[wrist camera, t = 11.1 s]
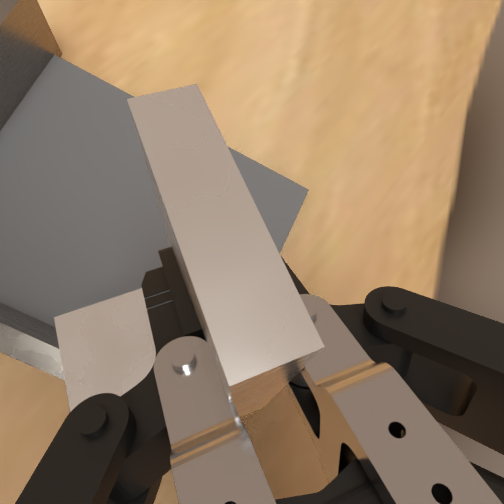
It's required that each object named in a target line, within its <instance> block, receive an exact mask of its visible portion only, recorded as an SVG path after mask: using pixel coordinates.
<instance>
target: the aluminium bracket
mask: <svg viewBox="0 0 504 504" xmlns="http://www.w3.org/2000/svg"><path fill="white" fill-rule="evenodd" d="M127 102H128V105H129V108H130V112H131V115H132V119H133V122H134V126H135V129H136V133H137V136H138V140H139V143H140V146H141V150H142V153H143V157H144V160H145V164H146V167H147V171H148V174H149V177H150V181H151V184H152V188H153V191H154V195H155V198H156V202H157V205H158V209H159V212H160V215H161V219H162V222H163V226H164V229H165V233H166V236H167V240H168V243H169V246H170V247H172V249H173V252H174V254H175V257H176V260H177V263H178V265H179V268H180V271H181V273H182V276H183V279H184V281H185V284H186V287H187V289H188V292H189V295H190V298H191V300H192V303H193V306H194V308H195V311H196V314H197V316H198V319H199V322H200V324H201V327H202V330H203V333H204V337H205V340H206V342H207V343H208V345H209V348H210V351H211V353H212V356H213V359H214V361H215V364H216V367H217V369H218V372H219V375H220V378H221V380H222V383H223V386H224V388H225V391H226V394H227V396H228V399H232V401H233V404H234V406H235V409H236V411H237V414H238V416H239V418H240V417H242V416H245V415H247V414H249V413H252V412H254V411H256V410H258V409H261V408H263V407H265V406H266V405H267V404H268V403H269V402H270V401H271V400H272V399H273V398H274V397H275V396H276V395H277V394H278V393H279V392H280V391H281V390H282V389H283V388H284V387H285V386H286V385H287V384H288V383H289V382H290V381H291V380H292V379H293V378H294V377H295V376H296V375H297V374H298V373H299V372H300V371H301V370H302V369H303V368H304V367H305V366H306V365H307V364H308V363H309V362H310V361H311V360H312V359H313V358H314V357H315V356H316V355H317V354H318V353H319V352H320V351H321V350H322V349H323V348H324V347H325V346H324V344H323V342H322V340H321V338H320V336H319V334H318V332H317V330H316V328H315V326H314V324H313V322H312V320H311V318H310V316H309V314H308V311H307V309H306V307H305V305H304V303H303V301H302V299H301V297H300V295H299V293H298V291H297V289H296V287H295V285H294V283H293V281H292V279H291V276H290V274H289V272H288V270H287V268H286V266H285V264H284V262H283V260H282V258H281V256H280V254H279V252H278V250H277V248H276V246H275V244H274V241H273V239H272V237H271V235H270V233H269V231H268V229H267V227H266V225H265V223H264V221H263V219H262V217H261V215H260V213H259V211H258V209H257V206H256V204H255V202H254V200H253V198H252V196H251V194H250V192H249V190H248V188H247V186H246V184H245V182H244V180H243V178H242V176H241V174H240V171H239V169H238V167H237V165H236V163H235V161H234V159H233V157H232V155H231V153H230V151H229V149H228V147H227V145H226V143H225V141H224V139H223V136H222V134H221V132H220V130H219V128H218V126H217V124H216V122H215V120H214V118H213V116H212V114H211V112H210V110H209V108H208V106H207V104H206V101H205V99H204V97H203V95H202V93H201V91H200V89H199V87H198V85H197V84H194V85H190V86H185V87H180V88H176V89H171V90H166V91H162V92H157V93H152V94H148V95H143V96H138V97H134V98H129V99H127ZM54 321H55V327H56V333H57V338H58V344H59V350H60V356H61V361H62V367H63V373H64V379H65V384H66V390H67V396H68V402H69V408H70V412H71V411H72V410H73V409H74V408H75V407H76V406H77V405H78V404H80V403H81V402H82V401H84V400H85V399H87V398H89V397H91V396H94V395H97V394H101V393H112V394H116V395H118V396H122V395H123V394H125V393H126V392H127V391H129V390H130V389H132V388H133V387H134V386H136V385H137V384H138V383H139V382H141V381H142V380H143V379H144V378H145V377H146V376H147V374H148V373H149V372H150V370H151V368H152V367H153V364H154V361H155V358H156V349H155V345H154V340H153V336H152V331H151V327H150V322H149V318H148V313H147V308H146V304H145V299H144V295H143V291H142V288H141V289H138V290H135V291H131V292H128V293H125V294H122V295H119V296H116V297H113V298H110V299H107V300H104V301H101V302H98V303H95V304H92V305H89V306H86V307H83V308H80V309H77V310H74V311H71V312H68V313H65V314H62V315H59V316H56V317H54Z"/></svg>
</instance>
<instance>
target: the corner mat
mask: <svg viewBox="0 0 504 504" xmlns="http://www.w3.org/2000/svg"><path fill="white" fill-rule="evenodd" d="M129 98H134V97H133V96H131V95H130V94H128V93H126V92H124V91H122V90H120V89H118V88H116V87H115V86H113V85H111V84H109V83H107V82H105V81H103V80H101V79H99V78H98V77H96V76H94V75H92V74H90V73H88V72H86V71H84V70H83V69H81V68H79V67H77V66H75V65H73V64H71V63H69V62H67V61H66V60H64V59H62V58H60V57H58V56H56V55H54V56H53V57H52V59H51V60H50V62H49V63H48V64H47V66H46V67H45V69H44V70H43V72H42V73H41V74H40V76H39V77H38V79H37V80H36V81H35V83H34V84H33V86H32V87H31V88H30V90H29V91H28V93H27V94H26V96H25V97H24V98H23V100H22V101H21V103H20V104H19V105H18V107H17V108H16V110H15V111H14V112H13V114H12V115H11V117H10V118H9V120H8V121H7V122H6V124H5V125H4V127H3V128H2V129H1V131H0V302H1V303H3V304H5V305H7V306H9V307H12V308H14V309H16V310H18V311H20V312H22V313H25V314H27V315H29V316H31V317H33V318H36V319H38V320H40V321H42V322H44V323H47V324H49V325H51V326H53V327H55V321H54V317H56V316H59V315H62V314H65V313H68V312H71V311H74V310H77V309H80V308H83V307H86V306H89V305H92V304H95V303H98V302H101V301H104V300H107V299H110V298H113V297H116V296H119V295H122V294H125V293H128V292H131V291H135V290H138V289H141V288H142V286H141V284H142V281H143V278H144V276H145V273H146V272H147V271H150V270H153V269H156V268H159V267H163V265H162V262H161V259H160V256H159V253H158V250H162V249H165V248H168V247H170V246H169V243H168V240H167V236H166V233H165V229H164V226H163V222H162V219H161V215H160V212H159V209H158V205H157V202H156V198H155V195H154V191H153V188H152V184H151V181H150V177H149V174H148V171H147V167H146V164H145V160H144V157H143V153H142V150H141V146H140V143H139V140H138V136H137V133H136V129H135V126H134V122H133V119H132V115H131V112H130V108H129V105H128V102H127V99H129ZM228 149H229V151H230V153H231V155H232V157H233V159H234V161H235V163H236V165H237V167H238V169H239V171H240V174H241V176H242V178H243V180H244V182H245V184H246V186H247V188H248V190H249V192H250V194H251V196H252V198H253V200H254V202H255V204H256V206H257V209H258V211H259V213H260V215H261V217H262V219H263V221H264V223H265V225H266V227H267V229H268V231H269V233H270V235H271V237H272V239H273V241H274V244H275V246H276V248H277V250H278V252H279V253H280V251H281V249H282V247H283V245H284V243H285V240H286V238H287V236H288V234H289V232H290V229H291V227H292V225H293V223H294V221H295V219H296V216H297V214H298V212H299V210H300V208H301V205H302V203H303V201H304V199H305V197H306V195H307V192H308V189H306V188H305V187H303V186H301V185H299V184H297V183H295V182H293V181H291V180H290V179H288V178H286V177H284V176H282V175H280V174H278V173H276V172H274V171H273V170H271V169H269V168H267V167H265V166H263V165H261V164H259V163H258V162H256V161H254V160H252V159H250V158H248V157H246V156H244V155H242V154H241V153H239V152H237V151H235V150H233V149H231V148H229V147H228ZM55 328H56V327H55Z"/></svg>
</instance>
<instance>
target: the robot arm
mask: <svg viewBox="0 0 504 504" xmlns="http://www.w3.org/2000/svg"><path fill="white" fill-rule="evenodd" d="M158 253H159V256H160V259H161V262H162V265H163V267H159V268H156V269H153V270H150V271H147V272H146V273H145V276H144V278H143V281H142V284H141V286H142V291H143V295H144V299H145V304H146V308H147V313H148V318H149V322H150V327H151V331H152V336H153V340H154V345H155V349H156V358H155V361H154V364H153V367H152V368H151V370H150V372H149V373H148V374H147V376H146V377H145V378H144V379H143V380H142V381H141V382H139V383H138V384H137V385H136V386H134V387H133V388H132V389H130V390H129V391H127V392H126V393H125V394H123V395H122V396H118V395H116V394H112V393H101V394H97V395H94V396H91V397H89V398H87V399H85V400H84V401H82V402H81V403H80V404H78V405H77V406H76V407H75V408H74V409H73V410H72V411H71V412H70V413H69V415H68V416H67V418H66V419H65V421H64V422H63V424H62V426H61V427H60V429H59V431H58V432H57V434H56V436H55V438H54V439H53V441H52V443H51V444H50V446H49V448H48V449H47V451H46V453H45V454H44V456H43V458H42V459H41V461H40V463H39V464H38V466H37V468H36V469H35V471H34V473H33V474H32V476H31V478H30V480H29V481H28V483H27V485H26V486H25V488H24V490H23V491H22V493H21V495H20V496H19V498H18V500H17V501H16V503H15V504H153V503H154V500H155V497H156V495H157V492H158V489H159V486H160V483H161V480H162V476H163V475H164V474H165V473H166V472H168V471H169V470H170V469H171V468H172V473H173V478H174V483H175V487H176V492H177V496H178V501H179V504H504V478H503V477H501V476H498V475H496V474H494V473H492V472H490V471H488V470H486V469H484V468H482V467H480V466H478V465H476V464H473V463H472V462H470V461H468V460H467V459H466V457H465V456H464V455H463V454H462V452H461V451H460V450H459V449H458V447H457V446H456V445H455V444H454V442H453V441H452V440H451V439H450V438H449V436H448V435H447V434H446V432H445V431H444V430H443V429H442V428H441V426H440V425H439V424H438V423H437V422H440V423H441V424H443V425H445V426H447V427H449V428H451V429H453V430H455V431H457V432H459V433H461V434H463V435H465V436H467V437H469V438H471V439H473V440H475V441H477V442H479V443H481V444H483V445H485V446H487V447H489V448H491V449H493V450H495V451H497V452H499V453H501V454H503V455H504V324H503V323H500V322H497V321H494V320H492V319H489V318H486V317H483V316H480V315H477V314H474V313H471V312H468V311H466V310H463V309H460V308H457V307H454V306H451V305H448V304H445V303H442V302H439V301H437V300H434V299H431V298H428V297H425V296H422V295H419V294H416V293H413V292H411V291H408V290H405V289H402V288H398V287H389V286H388V287H380V288H377V289H374V290H373V291H371V292H370V293H369V294H368V295H367V296H366V299H365V303H364V304H352V305H330V304H328V303H327V302H326V301H325V300H324V299H322V298H320V297H318V296H315V295H311V294H309V293H308V291H307V290H306V289H305V287H304V286H303V285H302V283H301V282H300V281H299V279H298V278H297V277H296V275H295V274H294V273H293V271H292V270H291V269H290V267H289V266H288V265H287V263H285V261H284V259H283V258H282V257H281V258H282V260H283V262H284V264H285V266H286V268H287V270H288V272H289V274H290V276H291V279H292V281H293V283H294V285H295V287H296V289H297V291H298V293H299V295H300V297H301V299H302V301H303V303H304V305H305V307H306V309H307V311H308V314H309V316H310V318H311V320H312V322H313V324H314V326H315V328H316V330H317V332H318V334H319V336H320V338H321V340H322V342H323V344H324V346H325V347H324V348H323V349H322V350H321V351H320V352H319V353H318V354H317V355H316V356H315V357H314V358H313V359H312V360H311V361H310V362H309V363H308V364H307V365H306V366H305V367H304V368H303V369H302V370H301V371H300V372H299V373H298V374H297V375H296V376H295V377H294V378H293V379H292V380H291V381H290V382H289V383H288V384H287V385H286V388H287V390H288V392H289V394H290V396H291V398H292V400H293V402H294V404H295V406H296V408H297V410H298V412H299V414H300V416H301V418H302V420H303V422H304V424H305V426H306V428H307V430H308V432H309V434H310V436H311V438H312V440H313V442H314V444H315V447H316V449H317V452H318V455H319V459H320V463H321V465H322V468H323V471H324V473H325V476H326V478H327V480H328V482H329V484H328V485H327V486H326V487H325V488H324V489H323V490H321V491H320V492H317V493H313V494H307V495H301V496H295V497H289V498H283V499H277V500H275V499H274V497H273V494H272V492H271V489H270V487H269V484H268V482H267V479H266V477H265V475H264V472H263V470H262V467H261V465H260V462H259V460H258V457H257V455H256V452H255V450H254V447H253V445H252V442H251V440H250V437H249V435H248V433H247V430H246V428H245V426H244V424H243V422H242V421H241V420H240V418H239V416H238V414H237V411H236V409H235V406H234V404H233V401H232V399H228V396H227V394H226V391H225V388H224V386H223V383H222V380H221V378H220V375H219V372H218V369H217V367H216V364H215V361H214V359H213V356H212V353H211V351H210V348H209V345H208V343H207V342H206V340H205V337H204V333H203V330H202V327H201V324H200V322H199V319H198V316H197V314H196V311H195V308H194V306H193V303H192V300H191V298H190V295H189V292H188V289H187V287H186V284H185V281H184V279H183V276H182V273H181V271H180V268H179V265H178V263H177V260H176V257H175V254H174V252H173V249H172V247H168V248H165V249H162V250H158ZM280 256H281V255H280Z"/></svg>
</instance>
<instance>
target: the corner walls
mask: <svg viewBox="0 0 504 504" xmlns="http://www.w3.org/2000/svg"><path fill="white" fill-rule="evenodd" d="M61 54H62V53H61V51H60V49H59V47H58V44H57V42H56V40H55V38H54V36H53V34H52V32H51V29H50V27H49V25H48V23H47V21H46V19H45V17H44V14H43V12H42V10H41V8H40V6H39V4H38V1H37V0H0V131H1V129H2V128H3V127H4V125H5V124H6V122H7V121H8V120H9V118H10V117H11V115H12V114H13V112H14V111H15V110H16V108H17V107H18V105H19V104H20V103H21V101H22V100H23V98H24V97H25V96H26V94H27V93H28V91H29V90H30V88H31V87H32V86H33V84H34V83H35V81H36V80H37V79H38V77H39V76H40V74H41V73H42V72H43V70H44V69H45V67H46V66H47V64H48V63H49V62H50V60H51V59H52V57H53V56H54V55H56V56H58V57H60V56H61ZM0 352H1V353H3V354H5V355H8V356H10V357H12V358H15V359H17V360H19V361H21V362H24V363H26V364H28V365H30V366H33V367H35V368H37V369H39V370H42V371H44V372H46V373H48V374H51V375H53V376H55V377H57V378H60V379H62V380H64V381H65V379H64V373H63V367H62V361H61V356H60V350H59V344H58V338H57V333H56V328H55V327H53V326H51V325H49V324H47V323H44V322H42V321H40V320H38V319H36V318H33V317H31V316H29V315H27V314H25V313H22V312H20V311H18V310H16V309H14V308H12V307H9V306H7V305H5V304H3V303H1V302H0Z"/></svg>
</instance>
